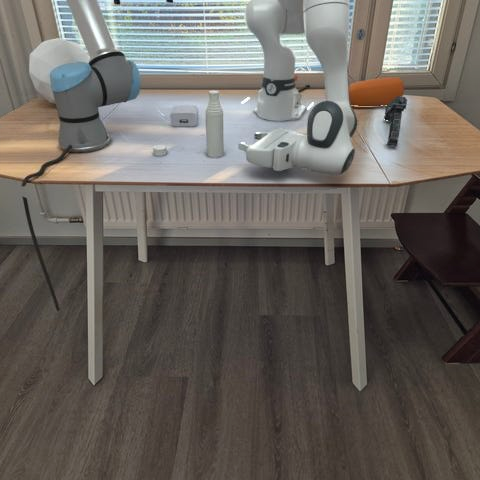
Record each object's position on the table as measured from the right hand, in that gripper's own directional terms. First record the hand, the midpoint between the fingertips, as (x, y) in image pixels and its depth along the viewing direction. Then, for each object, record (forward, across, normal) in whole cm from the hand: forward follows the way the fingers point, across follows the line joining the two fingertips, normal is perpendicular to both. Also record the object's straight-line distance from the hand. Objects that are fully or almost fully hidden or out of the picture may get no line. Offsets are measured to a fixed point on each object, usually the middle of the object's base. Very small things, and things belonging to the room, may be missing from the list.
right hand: (247, 140), depth 115 cm
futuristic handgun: (-31, -46, +7) cm, 56 cm away
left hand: (+26, +8, -33) cm, 43 cm away
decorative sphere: (+89, -13, +6) cm, 90 cm away
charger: (+38, -22, +6) cm, 44 cm away
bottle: (+11, 0, +7) cm, 13 cm away
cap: (+26, +8, +5) cm, 28 cm away
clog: (-16, -76, +6) cm, 78 cm away
